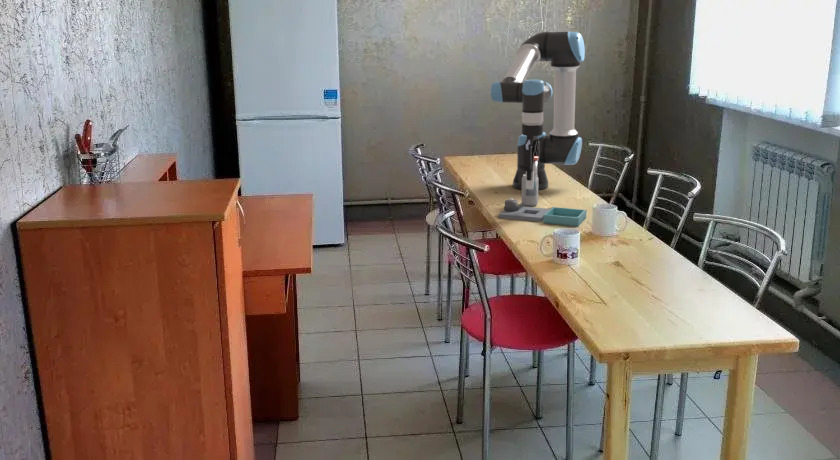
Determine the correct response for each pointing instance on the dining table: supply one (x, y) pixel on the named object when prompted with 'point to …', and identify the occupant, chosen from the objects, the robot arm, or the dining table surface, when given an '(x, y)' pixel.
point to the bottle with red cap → (534, 191)
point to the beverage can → (526, 199)
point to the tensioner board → (522, 212)
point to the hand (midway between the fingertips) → (531, 187)
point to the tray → (565, 216)
